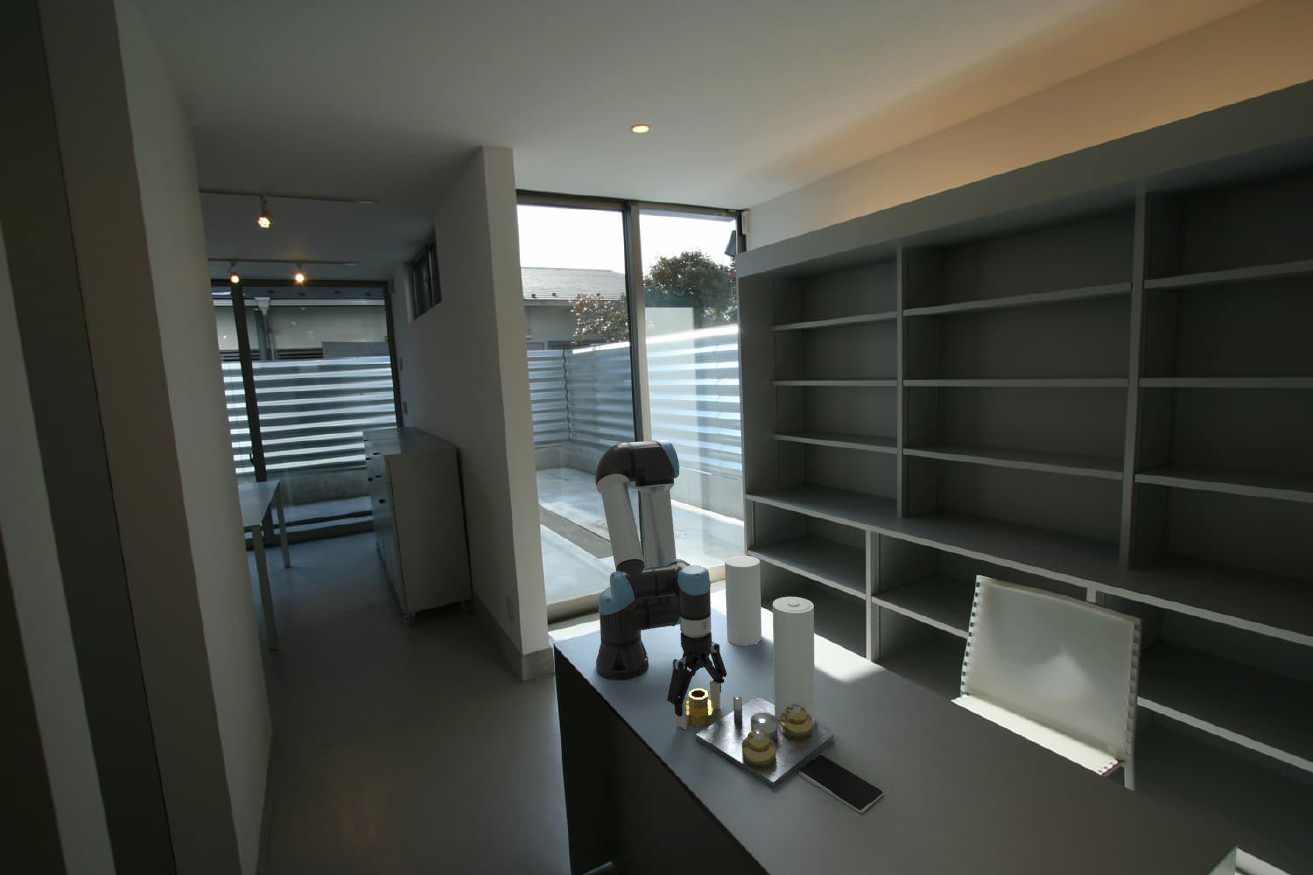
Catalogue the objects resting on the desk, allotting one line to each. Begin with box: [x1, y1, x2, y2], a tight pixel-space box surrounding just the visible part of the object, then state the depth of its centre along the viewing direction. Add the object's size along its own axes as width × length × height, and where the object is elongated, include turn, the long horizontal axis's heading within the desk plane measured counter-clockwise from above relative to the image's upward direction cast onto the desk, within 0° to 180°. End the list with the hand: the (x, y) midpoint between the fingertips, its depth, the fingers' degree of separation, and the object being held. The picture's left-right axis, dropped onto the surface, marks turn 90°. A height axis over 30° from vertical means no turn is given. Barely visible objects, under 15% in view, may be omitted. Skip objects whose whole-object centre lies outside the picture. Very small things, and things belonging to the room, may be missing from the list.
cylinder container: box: [772, 596, 816, 725], centre depth 141 cm, size 9×9×30 cm
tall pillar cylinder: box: [724, 555, 762, 647], centre depth 184 cm, size 11×11×25 cm
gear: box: [685, 688, 717, 728], centre depth 145 cm, size 8×8×6 cm
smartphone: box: [798, 754, 884, 814], centre depth 121 cm, size 8×1×15 cm
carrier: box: [695, 695, 835, 790], centre depth 135 cm, size 22×22×7 cm
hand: (699, 716), depth 146 cm, fingers open, 11 cm apart
